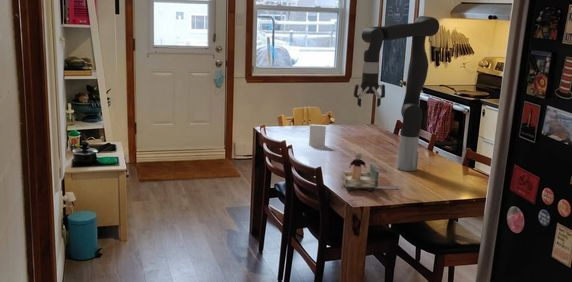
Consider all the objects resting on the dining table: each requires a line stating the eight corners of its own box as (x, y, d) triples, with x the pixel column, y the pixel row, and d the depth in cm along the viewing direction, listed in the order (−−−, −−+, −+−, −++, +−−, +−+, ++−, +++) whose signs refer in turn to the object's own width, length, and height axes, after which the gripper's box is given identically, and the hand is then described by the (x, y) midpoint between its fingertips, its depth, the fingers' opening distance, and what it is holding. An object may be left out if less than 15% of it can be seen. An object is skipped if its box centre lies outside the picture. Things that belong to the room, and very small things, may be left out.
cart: (371, 183, 269) (373, 163, 266) (377, 192, 256) (378, 171, 254) (341, 182, 268) (342, 162, 266) (345, 191, 255) (346, 170, 253)
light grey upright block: (325, 144, 340) (326, 124, 337) (324, 148, 331) (325, 127, 329) (309, 143, 341) (310, 123, 338) (308, 147, 332) (309, 126, 329)
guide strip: (397, 187, 264) (397, 186, 264) (398, 189, 261) (399, 188, 261) (340, 185, 263) (340, 185, 263) (340, 187, 260) (341, 187, 260)
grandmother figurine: (350, 181, 258) (352, 153, 255) (347, 178, 261) (349, 150, 258) (366, 180, 260) (368, 152, 257) (363, 177, 263) (365, 150, 260)
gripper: (384, 71, 274) (381, 105, 278) (353, 70, 273) (352, 105, 277) (387, 72, 267) (385, 108, 271) (356, 72, 266) (355, 107, 270)
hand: (368, 106), depth 274 cm, fingers open, 8 cm apart
